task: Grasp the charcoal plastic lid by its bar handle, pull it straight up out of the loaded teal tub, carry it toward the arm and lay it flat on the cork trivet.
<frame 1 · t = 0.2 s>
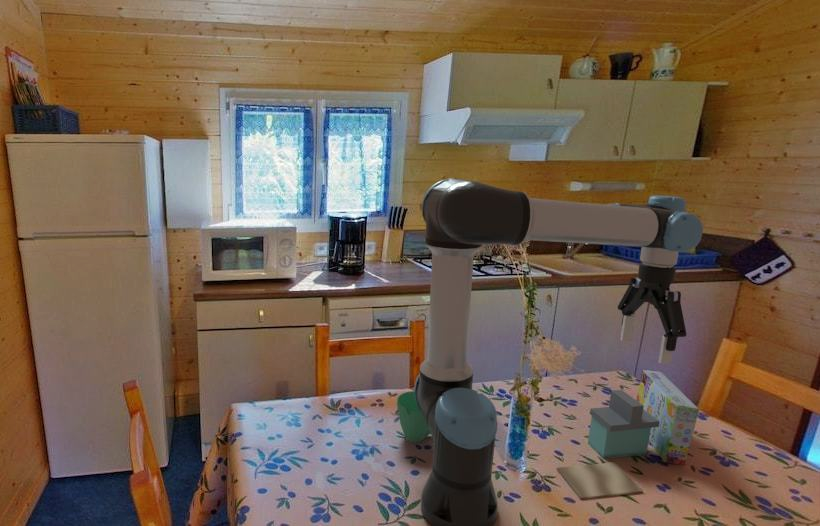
hand: (644, 351, 112), 26 cm above the table, fingers open, 13 cm apart
lid: (623, 420, 116), point 8 cm above the table, touching tub
mug: (423, 436, 119), on the table
trivet: (598, 480, 105), on the table
snack box: (657, 440, 122), on the table
tub: (616, 448, 117), on the table
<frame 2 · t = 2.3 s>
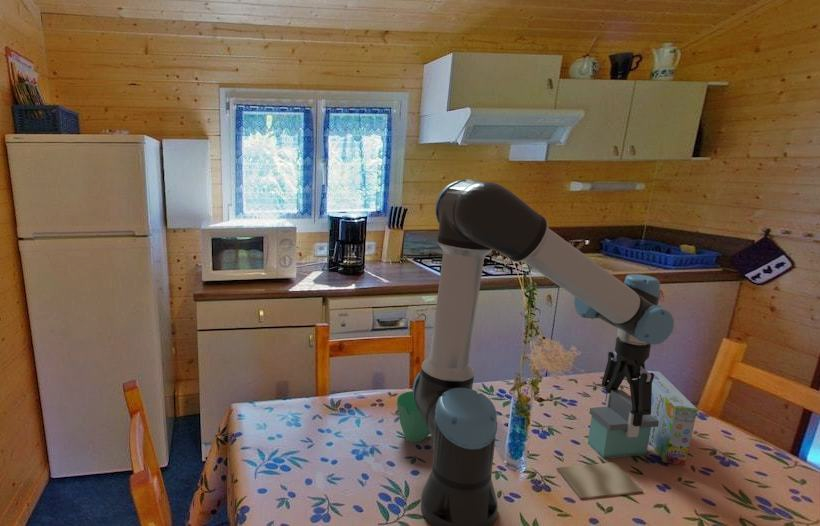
hand: (620, 426, 116), 6 cm above the table, fingers closed on lid, 8 cm apart
lid: (623, 419, 116), point 8 cm above the table, touching gripper, tub
everything else where it was.
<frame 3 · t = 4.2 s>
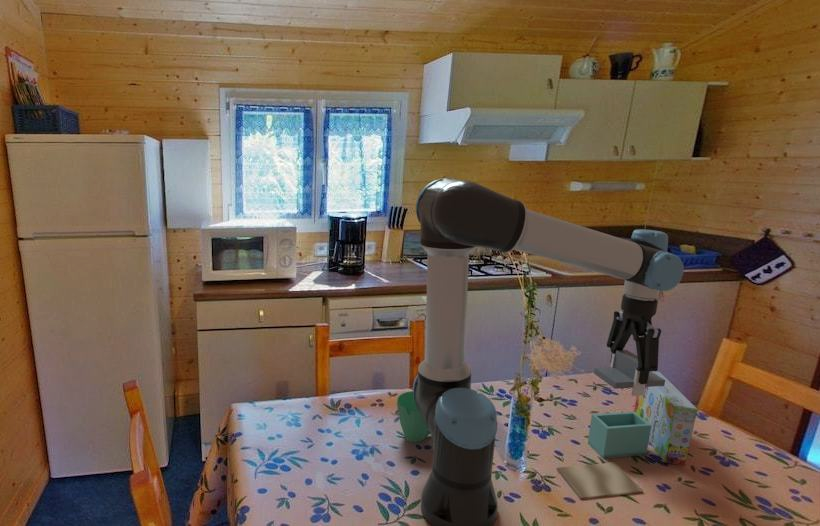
hand: (625, 386, 114), 17 cm above the table, fingers closed on lid, 8 cm apart
lid: (628, 379, 114), point 19 cm above the table, touching gripper
everything else where it was.
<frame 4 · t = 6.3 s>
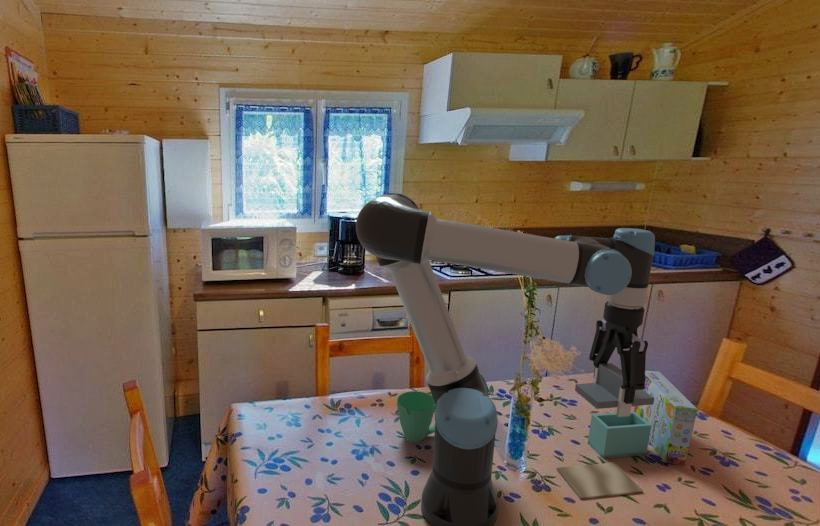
hand: (610, 404, 101), 19 cm above the table, fingers closed on lid, 8 cm apart
lid: (613, 397, 101), point 20 cm above the table, touching gripper
everything else where it was.
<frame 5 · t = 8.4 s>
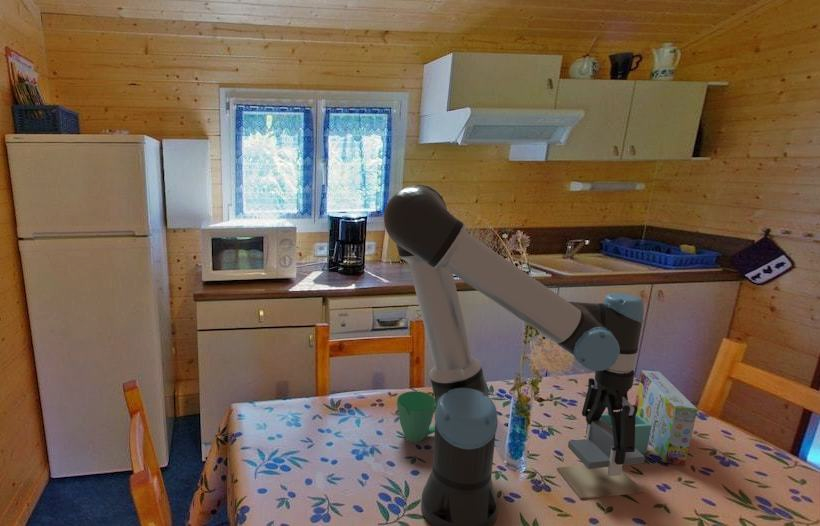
hand: (601, 461, 104), 5 cm above the table, fingers closed on lid, 8 cm apart
lid: (605, 454, 104), point 6 cm above the table, touching gripper
everything else where it was.
when the fingers open (2 cm above the table, at t = 10.0 s): lid drops 2 cm, resting on trivet.
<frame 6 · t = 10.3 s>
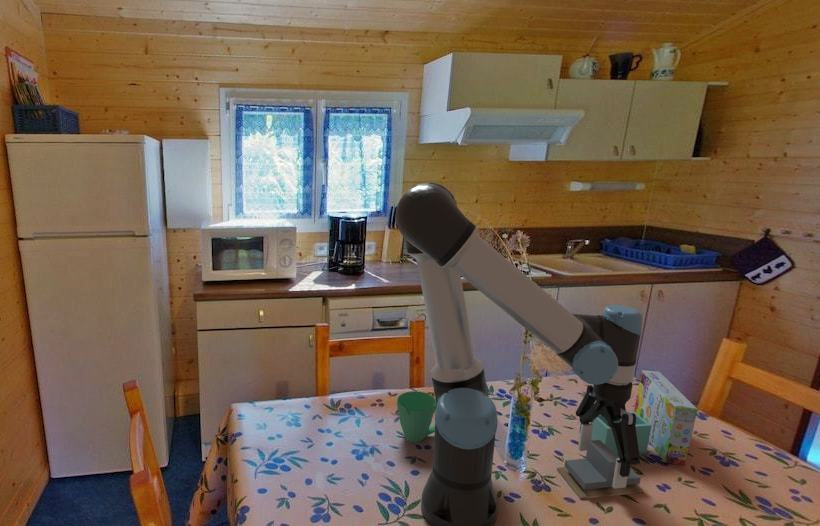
hand: (600, 467, 104), 3 cm above the table, fingers open, 12 cm apart
lid: (601, 474, 105), point 1 cm above the table, touching trivet
everything else where it was.
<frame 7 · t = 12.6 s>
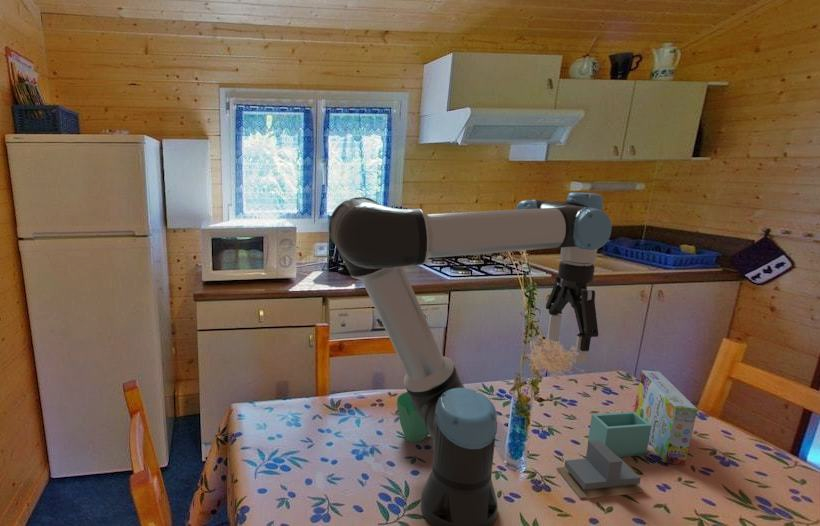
hand: (565, 351, 109), 26 cm above the table, fingers open, 13 cm apart
nothing on the table moved.
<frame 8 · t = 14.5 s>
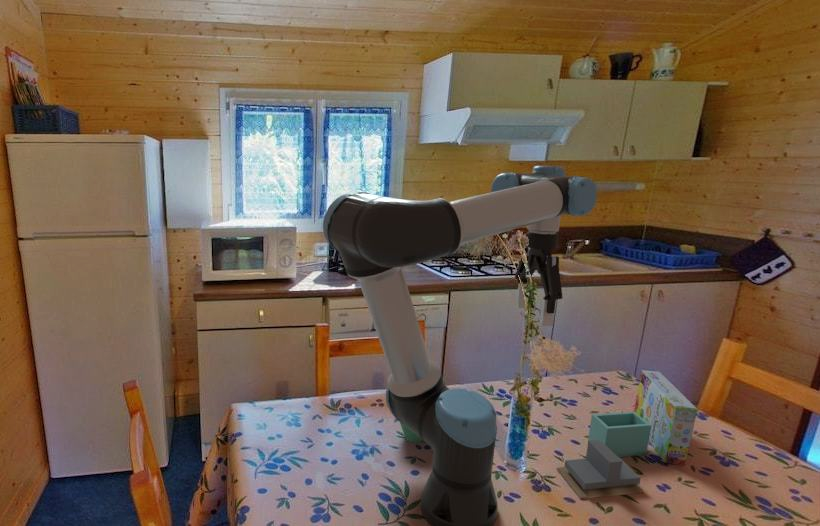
hand: (533, 316, 117), 32 cm above the table, fingers open, 13 cm apart
nothing on the table moved.
at the end: lid inside the target area on the trivet (0.5 cm from its centre), point 1.4 cm above the trivet's base; lid tilted 0°; lid touching trivet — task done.
